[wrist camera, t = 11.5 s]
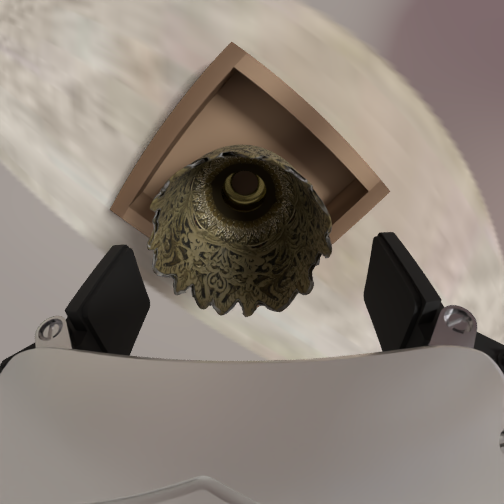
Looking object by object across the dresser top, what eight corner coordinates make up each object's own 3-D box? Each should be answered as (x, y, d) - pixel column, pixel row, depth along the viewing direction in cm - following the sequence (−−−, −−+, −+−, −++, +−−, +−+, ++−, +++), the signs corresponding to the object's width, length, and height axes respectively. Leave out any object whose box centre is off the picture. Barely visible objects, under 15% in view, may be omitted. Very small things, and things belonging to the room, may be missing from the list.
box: (372, 175, 18) (390, 191, 15) (256, 282, 23) (255, 308, 20) (235, 49, 13) (231, 41, 11) (127, 191, 18) (109, 209, 16)
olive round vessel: (206, 109, 15) (165, 128, 8) (321, 149, 16) (366, 198, 10) (176, 215, 19) (136, 292, 12) (277, 246, 20) (286, 333, 13)
